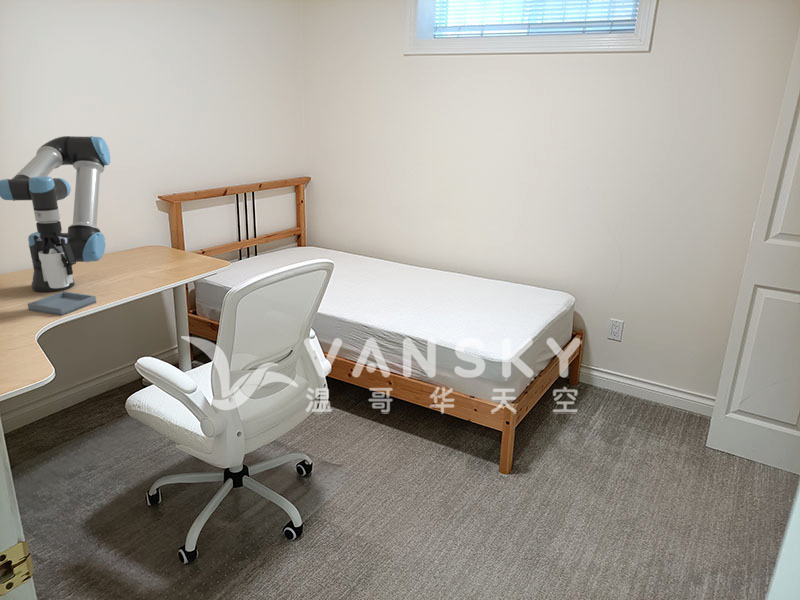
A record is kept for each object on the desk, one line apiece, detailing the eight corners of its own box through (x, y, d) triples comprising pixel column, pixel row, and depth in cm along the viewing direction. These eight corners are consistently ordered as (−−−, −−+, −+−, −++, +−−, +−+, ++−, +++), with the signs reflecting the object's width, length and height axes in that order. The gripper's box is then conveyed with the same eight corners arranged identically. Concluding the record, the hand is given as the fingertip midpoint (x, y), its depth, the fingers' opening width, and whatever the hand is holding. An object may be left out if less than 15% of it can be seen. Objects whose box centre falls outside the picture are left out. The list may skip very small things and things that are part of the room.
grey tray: (28, 310, 213) (27, 303, 212) (64, 297, 227) (63, 291, 226) (62, 315, 208) (61, 308, 207) (96, 302, 222) (95, 295, 221)
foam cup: (54, 281, 219) (48, 248, 215) (79, 282, 219) (73, 248, 215) (39, 289, 210) (32, 254, 206) (64, 290, 210) (58, 254, 206)
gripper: (14, 220, 207) (26, 281, 214) (63, 225, 200) (74, 287, 207) (33, 217, 213) (44, 275, 221) (81, 221, 207) (90, 282, 214)
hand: (58, 281), depth 214 cm, fingers closed on foam cup, 9 cm apart
